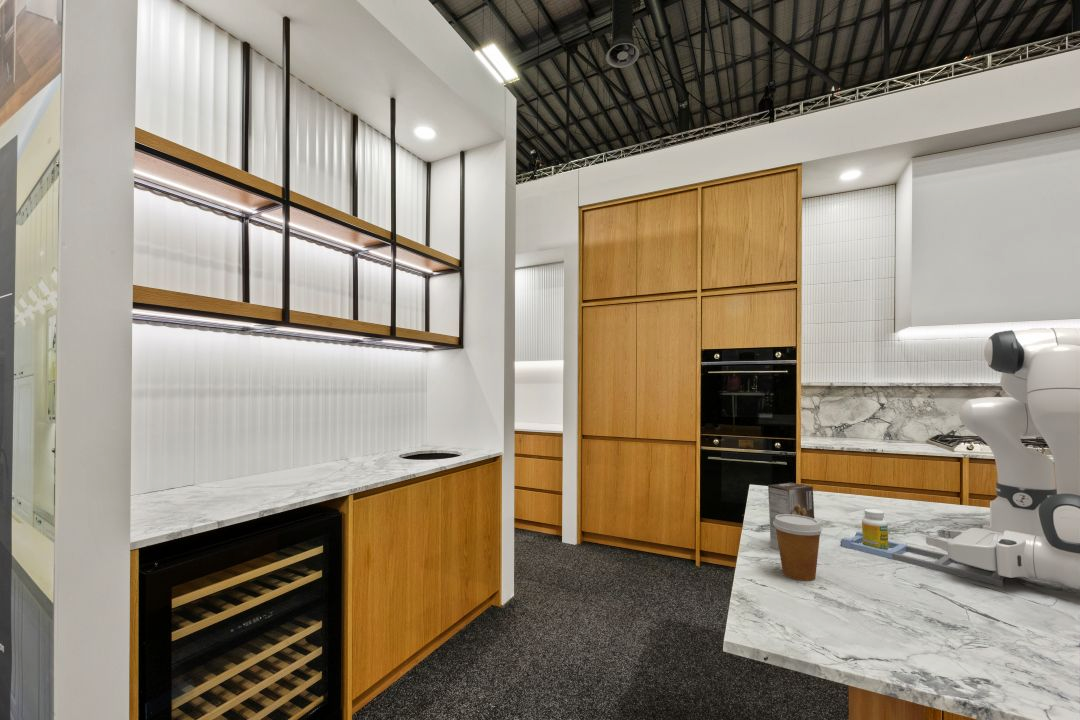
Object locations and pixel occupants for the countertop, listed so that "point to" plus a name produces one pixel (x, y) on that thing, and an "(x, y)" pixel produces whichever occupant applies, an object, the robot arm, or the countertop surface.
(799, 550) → the disposable coffee cup
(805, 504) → the coffee box
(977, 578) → the blue ladder rack
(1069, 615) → the countertop surface
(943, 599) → the countertop surface
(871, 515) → the supplement bottle
